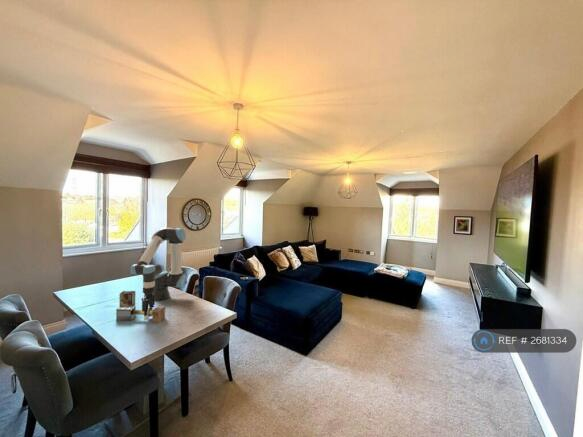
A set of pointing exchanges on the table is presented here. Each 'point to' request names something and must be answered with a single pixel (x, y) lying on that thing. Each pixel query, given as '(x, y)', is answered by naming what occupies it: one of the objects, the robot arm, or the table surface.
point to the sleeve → (125, 313)
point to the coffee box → (127, 298)
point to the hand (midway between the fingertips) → (148, 317)
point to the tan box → (158, 314)
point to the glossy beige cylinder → (140, 312)
